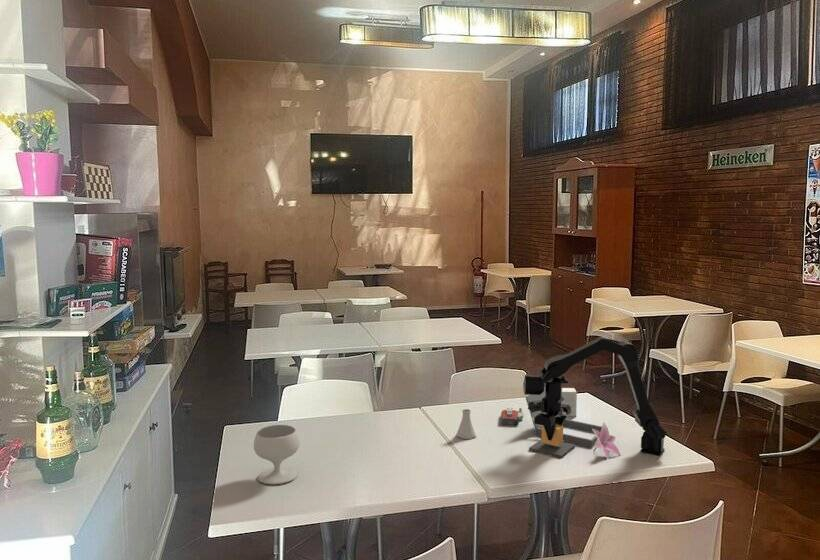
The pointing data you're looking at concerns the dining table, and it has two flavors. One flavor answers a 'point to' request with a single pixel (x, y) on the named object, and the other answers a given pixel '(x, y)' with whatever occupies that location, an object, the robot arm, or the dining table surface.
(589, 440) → the case
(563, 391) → the small box
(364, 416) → the dining table surface
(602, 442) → the lily
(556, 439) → the block
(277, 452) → the chalice
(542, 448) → the rubber mat
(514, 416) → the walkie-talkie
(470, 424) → the flask
